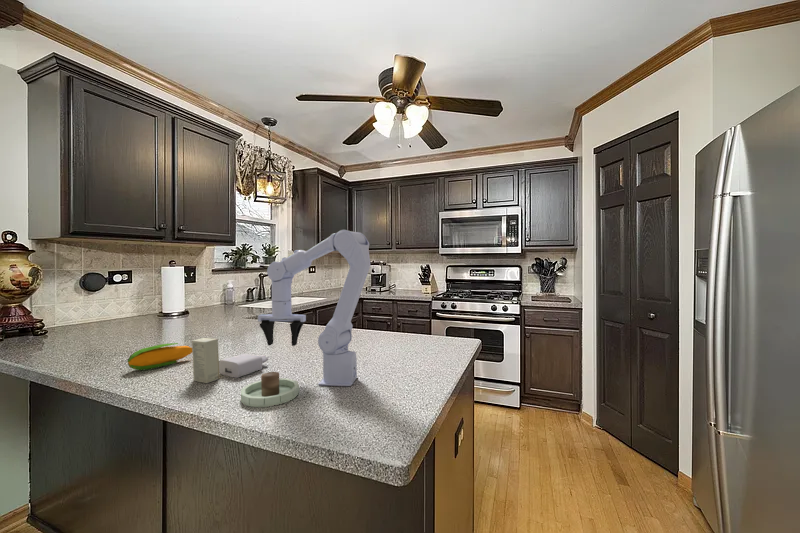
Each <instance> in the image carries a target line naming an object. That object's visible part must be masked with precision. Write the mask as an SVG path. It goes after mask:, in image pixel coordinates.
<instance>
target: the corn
mask: <svg viewBox="0 0 800 533" xmlns="http://www.w3.org/2000/svg"><path fill="white" fill-rule="evenodd" d="M178 344H179V343H178V342H173V343H170V342H169V343H161V344H157V345H152V346H148V347H147V346H146V347H142V348H140V349H138V350H135V351H134V352H133V353H132V354H130V355H129V357H128V359H127V365H128V367H129V368H131V369H132V370H133V369H134V370H136V371H149V369H150V370H154V369H158V368H162V366H163V367H166V365H167V366H170V364H171V365H173V364H176V363H177V362H178V361H179V360H182V359H183V358H187V356H189V355H191V354H192V346H188V345H178ZM173 345H174V346H173ZM175 345H176V346H175ZM177 345H178V346H177Z"/></svg>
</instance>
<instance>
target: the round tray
mask: <svg viewBox="0 0 800 533" xmlns="http://www.w3.org/2000/svg"><path fill="white" fill-rule="evenodd" d="M299 392H300V385H299V382H298V381H297V380H295V379H291V378H286V377H285V378H282V377H279V394H278V395H273V396H267V397H263V396H262V393H261V380H258V381H255V382H251V383H249V384H247V385H245V386H244V387H242V388H241V389H240V402H241V404H243V405H244V406H246V407H251V408H268V407H269V406H270V407H275V406H274V405H276V406H279V404H280V405H283V404H282V403H284V404H287V403H288V401H289V402H291V401H293V400H294V399H296V398H297V397H298V396H299ZM297 395H298V396H297ZM296 396H297V397H296ZM295 397H296V398H295ZM292 399H293V400H292ZM290 400H291V401H290ZM270 407H269V408H270Z"/></svg>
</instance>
